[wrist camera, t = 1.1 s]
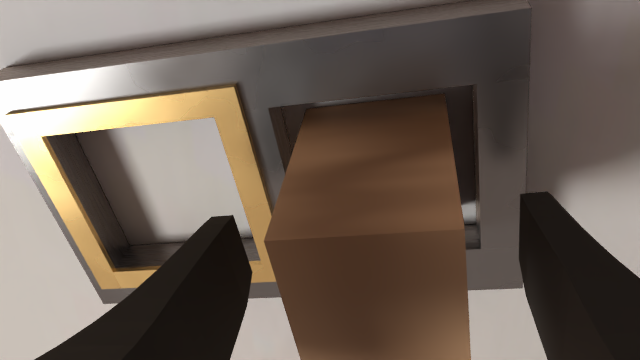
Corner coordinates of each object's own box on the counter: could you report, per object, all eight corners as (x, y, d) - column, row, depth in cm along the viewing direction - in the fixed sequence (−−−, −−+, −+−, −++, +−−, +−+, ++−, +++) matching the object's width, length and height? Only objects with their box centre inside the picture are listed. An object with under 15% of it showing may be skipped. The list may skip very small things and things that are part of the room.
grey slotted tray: (522, -7, 13) (533, 10, 12) (515, 262, 18) (523, 292, 17) (3, 67, 16) (-27, 87, 15) (117, 280, 21) (101, 307, 20)
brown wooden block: (444, 93, 15) (464, 229, 10) (451, 206, 17) (471, 363, 12) (306, 108, 16) (263, 240, 11) (329, 214, 18) (302, 365, 13)
